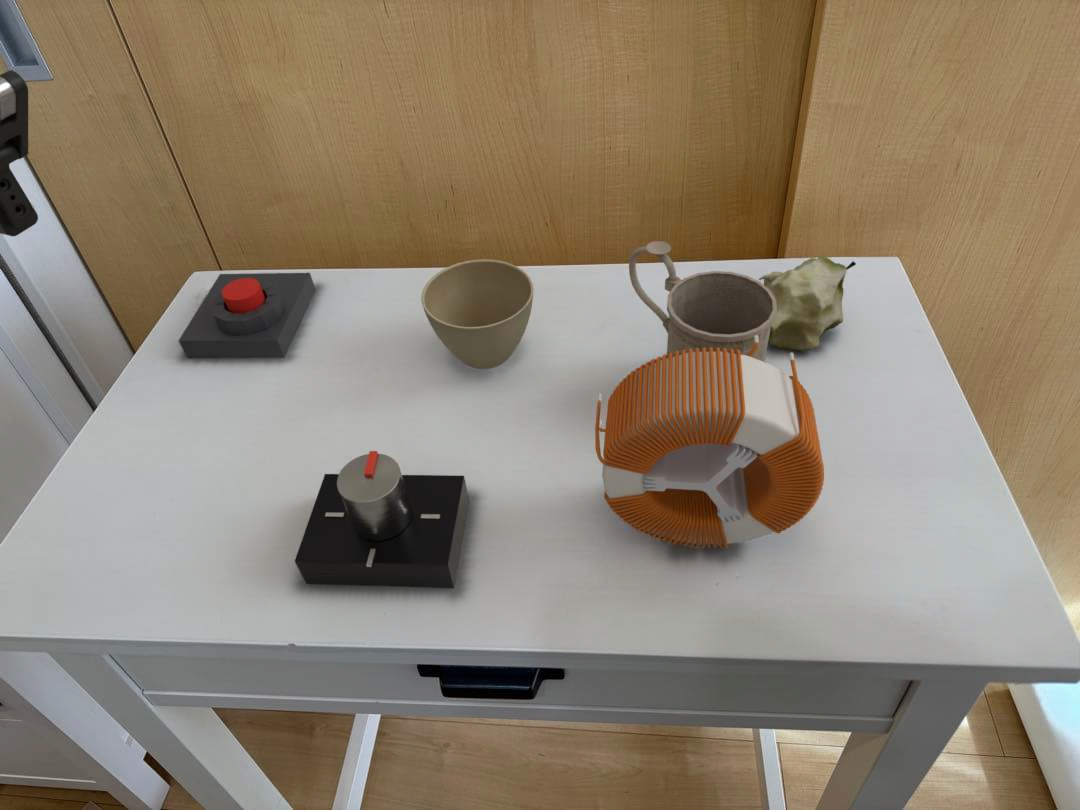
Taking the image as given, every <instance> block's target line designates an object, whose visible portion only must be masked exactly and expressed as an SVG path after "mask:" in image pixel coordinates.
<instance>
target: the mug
mask: <svg viewBox="0 0 1080 810" xmlns="http://www.w3.org/2000/svg"><path fill="white" fill-rule="evenodd" d="M671 250H672V246H671V244H669V243H668V242H666V241H662V240H661V241H660V240H655V241H650V242H648V243H647V244H646V246H639V247H637V248H636V249H634V251H632V252H631V255H630V257H629V262H628V272H629V273H628V275H629V279H630V282H631V285H632V288H633V290H634V291H635V293H636V294H637V297H638V298H639V299H640V300H641V301H642V302H643V303H644V304H645V305H646V307H648V308H649V309H650V310H651V311H652V312H653V314H655V315H656V316H657V317H658V318H659V320H660V321H661V323H662V326H663V328H664V329H665V331H666V333H667V345H666V355H667V356H668V357H669V353H673V354H674V355H675V352H676V351H679V352H680V354H681V355H682V350H686V352H687V353H688V351H689V349H692V350H693V352H695V349H696V348H699V351H700V352H702V348H703V347H705V348H706V352H709V348H710V347H712V348H713V351H715V349H716V348H717V347H718V348H720V351H722V349H723V348H726V349H727V352H728V350H729V349H733V351H734V352H735V351H736V350H740V353H741V355H747V354H748V353H749V352H750V350H751V349H752V348H753V347H754V345H755V340H754V336H755V335H758V340H759V346H758V348H757V349H756V351H755V352H754V353H753V355H752V356H751V357H752V358H755V359H758V360H760V361H763V362H765V361H766V355H767V350H768V345H769V343H768V340H769V335H770V329H771V325H772V323H773V321H774V319H775V317H776V313H777V303H776V299H775V297H774V295H773V294H772V292H771V290H769V289H768V288H767V287H766V286H765V285H764V283H763V282H761V281H760V280H757V279H755V278H753V277H751V276H749V275H746V274H741V273H737V272H733V271H726V270H725V271H724V270H721V271H720V270H711V271H705V272H704V271H703V272H698V273H695V274H692V275H689V276H686V277H684V278H682V279H681V278H680V277H678V276H677V270H676V268H675V264H674V262H673V260H672V259H671V258H670V256H669V255H668V253H670V252H671ZM641 254H650V255H653V256H655V257H657V258H658V259H659V260H660V261H661V262H662V263H663V264H664V266H665V267H666V269H667V273H668V277H666V278H665V280H664V290H665V291H667V292H669V293H668V294H667V303H666V311H667V314H668V315H667V314H666V313H665V312H664V310H663V309H662V308H661V307H660V306H659V305H658V304H657V303H655V301H653V300H652V298H651V297H650V296H649V295H648V294H647V293H646V292H645V290H644V289H643V287H642V285H641V283H640V281H639V278H638V274H637V258H638V257H639V255H641Z"/></svg>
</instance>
